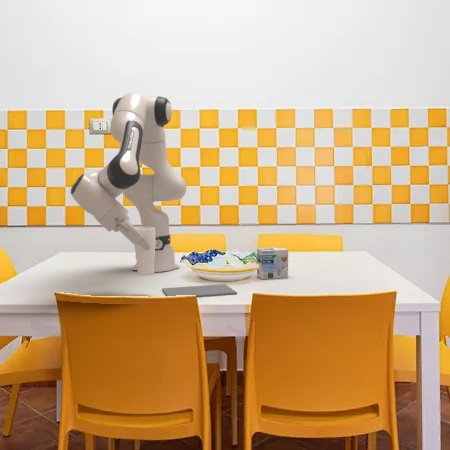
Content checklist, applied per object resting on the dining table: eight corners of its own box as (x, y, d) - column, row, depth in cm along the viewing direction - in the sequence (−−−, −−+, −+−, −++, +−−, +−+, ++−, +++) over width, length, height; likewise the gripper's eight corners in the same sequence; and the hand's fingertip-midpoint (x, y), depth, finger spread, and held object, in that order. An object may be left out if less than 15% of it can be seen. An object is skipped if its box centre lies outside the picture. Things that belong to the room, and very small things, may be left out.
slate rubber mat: (162, 290, 175) (161, 288, 175) (225, 285, 181) (225, 283, 181) (169, 299, 161) (169, 297, 161) (236, 294, 167) (236, 292, 167)
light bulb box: (261, 279, 191) (260, 250, 190) (256, 276, 197) (256, 248, 196) (289, 278, 193) (288, 249, 192) (283, 274, 199) (283, 246, 198)
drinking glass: (141, 277, 162) (140, 229, 161) (131, 274, 168) (129, 227, 166) (160, 274, 166) (159, 227, 165) (150, 271, 172) (148, 226, 170)
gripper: (124, 213, 153) (158, 244, 157) (119, 208, 173) (149, 236, 176) (109, 228, 152) (144, 259, 156) (106, 222, 172) (136, 249, 176)
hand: (147, 247), depth 166 cm, fingers closed on drinking glass, 6 cm apart
